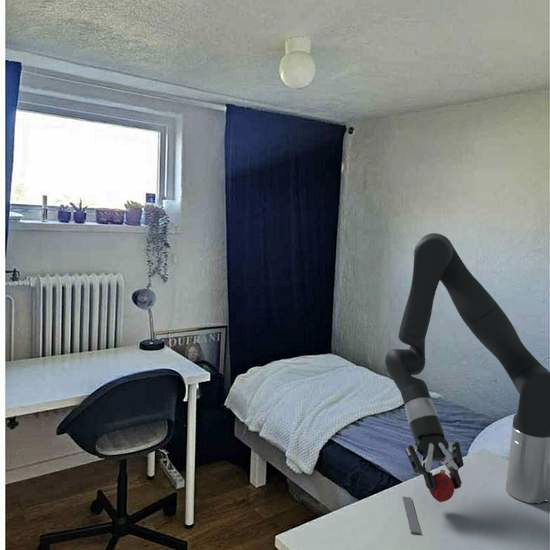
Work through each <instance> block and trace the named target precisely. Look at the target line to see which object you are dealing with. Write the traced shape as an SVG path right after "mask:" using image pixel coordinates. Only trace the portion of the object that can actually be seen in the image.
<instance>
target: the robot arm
mask: <svg viewBox="0 0 550 550" xmlns="http://www.w3.org/2000/svg"><path fill="white" fill-rule="evenodd" d="M412 271H413V272H412V279H411V285H410V291H409V294H408V297H407V301H406V305H405V308H404V311H403V315H402V319H401V323H400V326H399V330H398V339H399V341H400V342H402V343H403V344H405V345H408V346H409V349H408V348H407V349H406V348H403V349H402V348H392V349H390V350H389V351H388V352H387V354H386V356H385V361H384V364H385V368H386V369H387V373H388V374H389V376H390V378H391V379H392V381H393V382H394V384H395V385H396V388H398V390H399V392H400V395H401V398H402V401H403V402H402V403H403V405H404V409H405V413H406V414H405V415H406V419H407V421H408V425H409V428H410V430H411V431H410V432H411V435H412V438H413V440H414V441H415V442H414V443H415V444H414V445H412V444H411V445H408V446H407V447H406V448H405V453H406V456H407V458H408V460H409V463H410V464H411V467H412V469H413V471H414V473H416V474H418V473H419V474H421V475H422V476H423V479H424V481H425V482H424V483H425V487H426V488H427V489H428V490H429V489H430V491H434V490H436V485H435V481H434V478H433V475H434V474H433V472H431V468H432V462H434V461H436V462H440V463H441V464H442V465H443V466H445V468H446V469H447V470H448V472H449V473H448V474H449V475H448V476H449V477H450V478H451V480H452V482H453V484H454V490H458V489H460V488H461V487H462V486H461V485H462V480H461V477H460V474H459V469H461V468H462V467H464V460H463V454H462V450H461V445H460V443H459V442H458V441H455V442H448V441H447V439H446V438H445V433H444V429H443V427H442V424H441V420H440V417H439V415H438V412H437V408H436V406H435V404H434V402H433V400H432V397H431V394H430V391H429V389H428V386H427V383H426V382H425V381H424V380H423V379H420V378H418V377H414V376H417V375H419V374H421V373H422V371H424V369H425V366H426V337H427V334H428V329H429V326H430V321H431V317H432V311H433V308H434V307H433V305H434V301H435V295H436V292H437V288H438V285H439V283H440V282H441V283H442V285H443V286H444V288H445V289H446V291H447V293H448V295H449V297H450V298H451V301H452V303H453V305H454V307H455V308H456V311H457V313H458V315H459V316H460V318H461V320H462V321H463V323H465V325H466V326H467V327H468V328H469V330H470V332H471V333H472V334H473V335H474V336H475V337H476V339H477V340H478V341H479V342H480V343H481V344H482V345H483V346H484V348H486V349H487V350H488V351H489V352H490V353H491V354H492V355H493V356H494V357H495V358H496V359H497V360H498V361H499V363H500V365H502V367H503V369H504V370H505V371H506V374H507V375H508V376H509V378H510V380H511V383H512V384H513V385H514V387H515V389H516V391H517V392H518V394H519V399H518V407H517V413H515V414H514V415H513V418H512V427H511V437H510V446H509V454H508V455H509V456H508V463H507V471H506V472H507V473H506V481H505V482H506V484H505V491H506V493H508V495H509V496H511V497H513V498H515V499H516V500H518V501H521V502H524V503H527V504H534V503H538V504H541V503H540V502H543V501H545V500H547V501H549V502H550V370H548V369H547V368H546V367H545V366H543V364H542V363H540V362H539V360H537V358H536V357H535V356H534V355H533V354H532V353H531V352H530V351H529V350H528V349H527V347H526V346H525V345H524V344H523V342H522V340H521V338H520V337H519V335H518V333H517V331H516V329H515V327H514V326H513V324H512V322H511V320H510V319H509V316H507V314H506V313H505V312H504V310H503V309H502V307H501V306H500V305H499V304H498V303H497V301H496V300H495V299H494V297H492V295H491V294H490V293H489V292H488V290H487V289H485V287H484V286H483V284H482V283H480V281H478V279H477V278H476V277H475V276H474V275H473V274H472V273H471V271H470V270H469V269H468V268H467V267H466V264H465V263H464V262H463V260H462V258H461V257H460V255H459V254H458V252H457V251H456V249H455V247H454V245H453V244H452V242H451V241H450V239H449V238H448V237H447V236H445V235H442V234H441V233H437V232H435V233H434V232H432V233H429V234H426V235H424V236H423V237H421V239H420V240H419V241H418V242H417V243H416V245H415V248H414V250H413V268H412ZM448 450H449V452H450V453H451V454H450V453H449V452H448ZM418 454H420V455H421V461H420V459H419V456H418ZM430 491H429V492H430ZM543 503H544V502H543Z"/></svg>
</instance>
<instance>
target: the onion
mask: <svg viewBox="0 0 550 550" xmlns="http://www.w3.org/2000/svg"><path fill="white" fill-rule="evenodd" d="M432 475H433V478H434V481H435V485H436V490H434V491H430V489H428V491H429V493H430V495H431V496H432V497H433V499H435V501H437V502H438V503H444V502H446V501H448V500H450V499H451V498H452V497H453V495H454V493H455V489H454V484H453V482H452V480H451V478H450V475H448V474H447V473H446V470H445V469H443V468H442V469H440V471H439V472H437V473H434V474H432Z"/></svg>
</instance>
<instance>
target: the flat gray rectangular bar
mask: <svg viewBox="0 0 550 550" xmlns="http://www.w3.org/2000/svg"><path fill="white" fill-rule="evenodd" d="M402 501H403V504H404V510H405V513H406V518H407V521H408V526H409V530H410V533H411V534H415V535H421V534H422V533H421V529H420V526H419V525H420V524H419V522H418V517H417V515H416V509H415V506H414V504H413V503H414V502H413V500H412V497H411V496H402Z"/></svg>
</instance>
